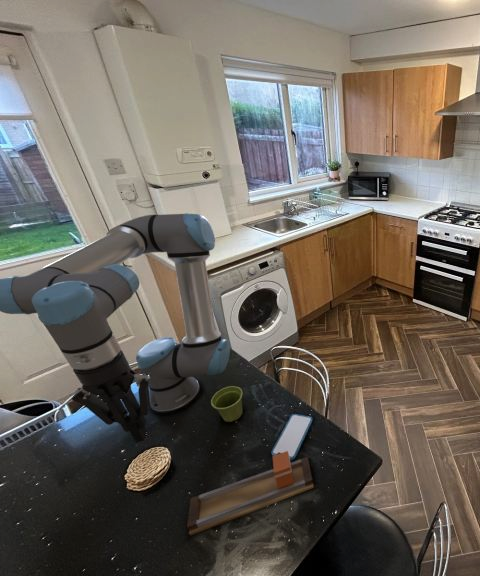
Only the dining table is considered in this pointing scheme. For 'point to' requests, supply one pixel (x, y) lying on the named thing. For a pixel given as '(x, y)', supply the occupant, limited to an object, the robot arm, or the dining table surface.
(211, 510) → the rail
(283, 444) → the smartphone
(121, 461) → the dining table surface
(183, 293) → the robot arm
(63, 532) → the dining table surface
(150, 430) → the dining table surface
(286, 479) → the orange block
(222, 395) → the plant pot
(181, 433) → the dining table surface
